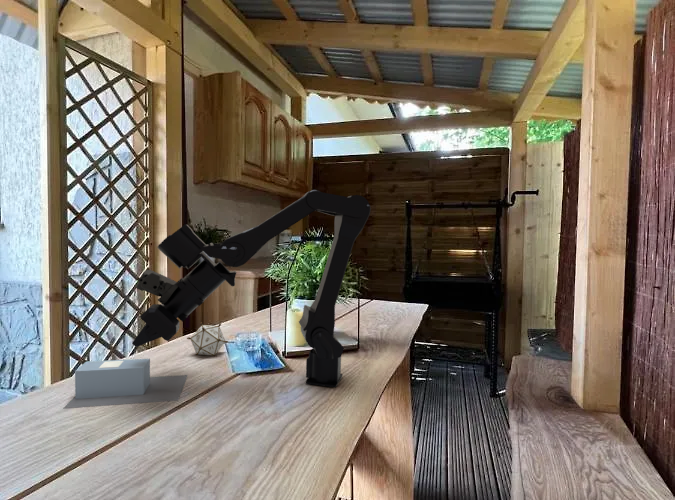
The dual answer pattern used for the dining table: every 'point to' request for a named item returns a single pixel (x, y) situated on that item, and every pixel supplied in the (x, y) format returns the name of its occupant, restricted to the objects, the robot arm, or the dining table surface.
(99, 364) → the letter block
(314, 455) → the dining table surface
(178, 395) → the mat
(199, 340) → the game die
